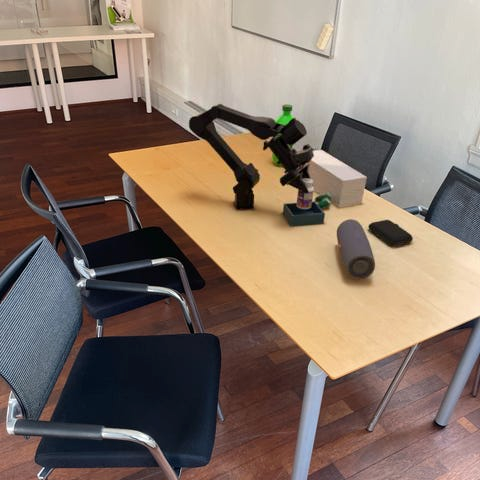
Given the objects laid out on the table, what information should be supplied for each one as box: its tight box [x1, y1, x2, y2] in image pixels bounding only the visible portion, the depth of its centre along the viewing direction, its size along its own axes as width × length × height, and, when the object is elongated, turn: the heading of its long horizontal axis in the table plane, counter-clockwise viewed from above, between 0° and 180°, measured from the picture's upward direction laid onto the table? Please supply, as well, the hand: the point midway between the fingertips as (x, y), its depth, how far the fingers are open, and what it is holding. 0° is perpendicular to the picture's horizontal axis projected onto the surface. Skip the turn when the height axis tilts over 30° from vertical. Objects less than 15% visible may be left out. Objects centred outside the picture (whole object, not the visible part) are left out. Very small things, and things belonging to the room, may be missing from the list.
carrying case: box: [367, 219, 414, 247], centre depth 161 cm, size 11×3×15 cm
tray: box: [282, 200, 326, 227], centre depth 169 cm, size 12×10×4 cm
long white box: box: [306, 149, 368, 209], centre depth 188 cm, size 32×11×11 cm, turn 25°
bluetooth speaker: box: [336, 218, 376, 280], centre depth 144 cm, size 23×9×10 cm, turn 178°
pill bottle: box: [296, 178, 315, 209], centre depth 165 cm, size 5×5×10 cm
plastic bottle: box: [271, 103, 294, 167], centre depth 205 cm, size 10×10×25 cm
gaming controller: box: [314, 193, 332, 210], centre depth 179 cm, size 9×4×6 cm
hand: (309, 189), depth 163 cm, fingers closed on pill bottle, 5 cm apart
